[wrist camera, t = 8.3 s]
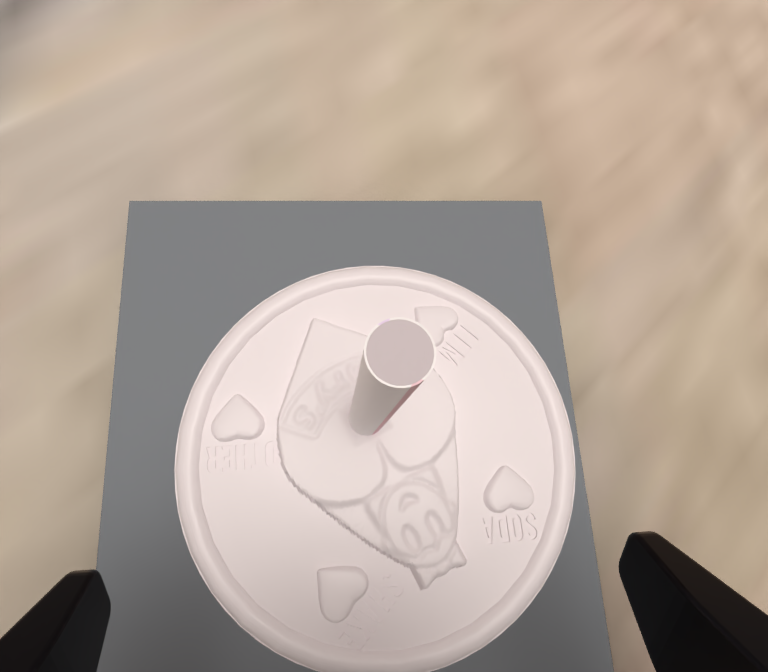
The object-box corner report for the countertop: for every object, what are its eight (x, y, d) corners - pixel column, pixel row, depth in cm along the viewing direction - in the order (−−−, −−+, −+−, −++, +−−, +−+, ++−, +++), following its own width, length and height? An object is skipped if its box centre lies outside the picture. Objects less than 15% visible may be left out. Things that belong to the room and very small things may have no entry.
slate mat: (618, 778, 16) (632, 793, 15) (83, 844, 14) (69, 865, 14) (533, 211, 21) (541, 200, 21) (137, 211, 20) (129, 201, 19)
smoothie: (395, 343, 18) (556, -22, 5) (484, 507, 17) (1021, 605, 4) (228, 425, 17) (-157, 227, 4) (312, 610, 16) (187, 1328, 2)
